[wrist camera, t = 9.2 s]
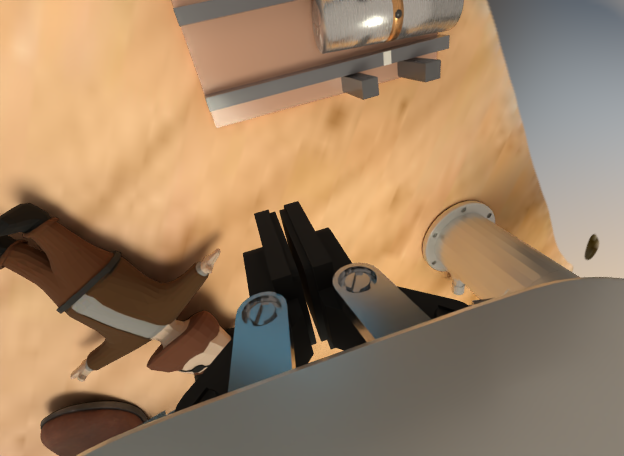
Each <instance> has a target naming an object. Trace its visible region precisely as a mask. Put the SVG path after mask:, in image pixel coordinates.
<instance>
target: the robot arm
mask: <svg viewBox="0 0 624 456" xmlns="http://www.w3.org/2000/svg"><path fill="white" fill-rule="evenodd" d="M279 211H280V215H281V219H282V223H283V227H284V231H285V235H286V238H287V241H286V238H285V236H284V233H283V231H282V228H281V226H280V223H279V220H278V218H277V215H276V213H275V212H272V213H269V210H265V211H262V212H258V213H255V214H254V215H255V219H256V223H257V227H258V231H259V234H260V238H261V242H262V246H263V247H261V248H258V249H255V250H251V251H248V252H245V253H243V257H244V264H245V270H246V276H247V283H248V289H249V295H250V297H249V298H248V299H246V300H245V301H244V302H243V303H242V304H241V305H240V307H239V308H238V310H237V314H236V320H235V329H234V337H233V338H232V339H231V340H230V341H229V342H228V344H227V345H226V346H225V347H224V348H223V350H222V351H221V352H220V353H219V354H218V355H217V357H216V358H215V359H214V360H213V361H212V363H211V364H210V365H209V366H208V367H207V368H206V370H205V371H204V372H203V373H202V374H201V376H200V377H199V378H198V379H197V380H196V381H195V383H194V384H193V385H192V386H191V387H190V389H189V390H188V391H187V392H186V393H185V394H184V396H183V397H182V399H181V400H180V402H179V403H178V404H177V407H176V409H175V410H174V411H172V412H170V413H169V414H168V413H167V412H166V411H163V412H161V413H160V414H158V415H156V416H154V417H153V418H151V419H149V420H147V421H146V422H144V423H142V424H140V425H139V426H137V427H135V428H133V429H131V430H129V431H126V432H124V433H122V434H119V435H117V436H114V437H112V438H110V439H108V440H106V441H104V442H102V443H100V444H98V445H96V446H94V447H91V448H89V449H87V450H85V451H84V452H82V453H80V454H78V455H77V456H624V279H622V278H611V277H610V278H609V277H584V278H580V277H579V276H577V275H576V274H574V273H572V272H571V271H569V270H567V269H566V268H564V267H563V266H561V265H559V264H558V263H556V262H555V261H553V260H552V259H550V258H548V257H547V256H545V255H544V254H542V253H541V252H539V251H537V250H536V249H534V248H533V247H531V246H529V245H528V244H526V243H525V242H523V241H522V240H520V239H518V238H517V237H515V236H514V235H512V234H511V233H509V232H507V231H506V230H504V229H503V228H501V227H499V226H498V225H496V224H495V216H494V214H493V211H492V210H491V209H490V208H489V207H488V206H486V205H485V204H483V203H481V202H478V201H465V202H461V203H458V204H456V205H454V206H452V207H450V208H449V209H447V210H446V211H444V212H443V213H442V214H441V215H440V216H439V217H438V218H437V219H436V220H435V221H434V222H433V223H432V225H431V226H430V228H429V229H428V231H427V233H426V235H425V238H424V242H423V248H422V251H423V256H424V259H425V261H426V262H427V263H428V264H429V265H430V266H431V267H432V268H433V269H435V270H438V271H448V272H449V273H450V274H451V278H452V280H453V282H452V292H453V293H454V294H456V295H461V294H463V293H464V286H465V285H466V286H467V287H468V288H469V289H470V290H471V291H472V292H473V293H474V294H475V295H476V296H477V297H478V298H479V299H481V300H475V301H472V305H469V306H468V305H467V304H465V303H463V302H460V301H457V300H454V299H450V298H445V297H441V296H437V295H432V294H428V293H424V292H419V291H415V290H411V289H406V288H402V287H398V286H396V285H395V284H393V283H392V282H391V281H390V280H389V279H388V278H387V277H386V276H385V275H384V274H383V273H382V272H381V271H380V270H379V269H377V268H376V267H374V266H372V265H370V264H367V263H352V262H351V261H350V259H349V258H348V256H347V255H346V253H345V252H344V250H343V249H342V247H341V245H340V244H339V242H338V241H337V239H336V238H335V236H334V235H333V233H332V232H331V230H330V229H329V228H325V229H321V230H318V231H315V230H314V228H313V227H312V225H311V223H310V221H309V219H308V218H307V216H306V214H305V212H304V211H303V209H302V207H301V205H300V203H299V202H298V201H297V202H293V203H290V204H286V205H284V209H283V210H279ZM287 242H288V244H287ZM306 302H307V303H306ZM307 305H308V307H309V310H310V313H311V315H312V318H313V321H314V323H315V326H316V329H317V331H318V334H319V337H320V339H321V341H325V340H327V341H328V343H329V346H330V348H331V349H333V348H338V349H341V350H344V351H342V352H339V353H336V354H333V355H330V356H328V357H325V358H322V359H319V360H317V361H314V362H311V363H308V362H309V361H310V359H311V357H312V356H313V354H314V353H313V349H312V346H311V345H313V344H316V339H315V335H314V331H313V327H312V323H311V319H310V315H309V311H308V307H307Z"/></svg>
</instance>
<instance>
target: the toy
mask: <svg viewBox="0 0 624 456" xmlns="http://www.w3.org/2000/svg"><path fill="white" fill-rule="evenodd" d="M58 220H59V219H58V218H55V217H53V218H51V217H50V215H49V214H48V213H47V212H45V211H43V210H42V209H40V208H39V207H37V206H35V205H33V204H31V203H26V204H20V205H18V206H16V207H14V208H12V209H10V210H9V211H7V212H6V213H4V214H3V215H1V216H0V269H2V268H4V267H6V268H8V269H10V270H12V271H14V272H15V273H17V274H19V275H21V276H23V277H25V278H26V279H28V280H30V281H32V282H33V283H35V284H36V285H38V286H39V287H40V288H41V289H42V290H43V291H44V292H45V293H46V294H47V295H48V296H49V297H50V298H51V299H52V300H53V301H54V303H55V304H56V305H57V306H58V307H59V308H58V309H57V311H58V312H59V313H63V312H64V311H65V312H66V313H67V314H68V315H69V316H70V317H72V318H74V319H75V320H77V321H79V322H81V323H83V324H85V325H87V326H89V327H90V328H92V329H94V330H96V331H98V332H99V333H100V334H101V335H103V336H104V337H105V338H106V339H105V341H104V342H103V343H102V344H101V345H100V346H99V347H97V348H96V349H95V350H93V351H92V352H91V353H90V354H89V355H88V357H87V359H85V360H84V361H83V362H82V363H81V365H80V366H79V367H78V368H77V369H76V370H74V371H73V373H72V374H71V379H74V378H77V379H78V380H79V381H82V382H83V381H85V379H86V377H87V375H88V374H89V373H90V372H91V371H93V370H99V369H100V368H102V367H104V366H106V365H108V364H110V363H112V362H113V361H115V360H117V359H119V358H121V357H123V356H125V355H126V354H128V353H130V352H132V351H134V350H135V349H137V348H139V347H141V346H142V345H144V344H146V343H148V342H149V341H151V340H152V339H153V340H158V341H160V342H161V345H160V346H159V347H158V349H157V350H156V351H155V352H154V354H153V355H152V356H151V358H150V360H149V361H148V364H147V367H148V368H150V369H151V370H157V371H163V372H173V371H179V372H183V373H190V374H194V375H195V377H194V378H195V381H196V380H197V379H198V378H199V377H200V376H201V374H202V373H203V372H204V371H205V370H206V368H207V367H208V366H209V365H210V364H211V363H212V361H213V360H214V359H215V358H216V357H217V355H218V354H219V353H220V352H221V351H222V350H223V348H224V347H225V346H226V345H227V344H228V342H229V341H230V340H231V339H232V338H233V337H234V329H235V327H234V328H230V329H227V330H225V331H224V330H223V329H222V328H221V327H220V326H219V324H218V321H217V320H216V318H215V317H214V316H213V315H212V314H211V313H209V312H207V311H201V312H198V313H196V314H195V315H193V316H192V317H190V318H189V319H188V320H186V321H183V322H182V321H178V320H176V318H177V317H178V316H179V314H180V313H181V312H182V310H183V309H184V308H185V306H186V305H187V304H188V303H189V301H190V300H191V299H192V297H193V296H194V295H195V294H196V292H197V291H198V290H199V288H200V287H201V286H202V284H203V283H204V282H205V280H206V279H207V278H208V275H209V274H210V273H212V269H213V265H214V263H215V262H216V260H217V258H218V256H219V254H220V249H216V250H215V251H214V252H213V253H211V254H210V255H207V256H205V258H204V259H203V261H202V262H197V263H195V264H194V265H193V266H192V267H191V268H190V269H189V270H188V271H187V272H186V273H184V274H183V275H181V276H180V277H178V278H177V279H175V280H174V281H171V282H169V283H160V282H157V281H155V280H152V279H150V278H149V277H147V276H146V275H144V274H143V273H141V272H140V271H139V270H138V269H136V268H135V267H134V266H133V265H132V264H131V263H129V262H128V261H127V260H126V259H125V258H123V257H121V253H120V252H118V251H114V252H113V253H111V252H109V251H106V250H103V249H101V248H98V247H96V246H94V245H92V244H90V243H89V242H87V241H85V240H83V239H82V238H80V237H79V236H77V235H76V234H74V233H73V232H71V231H70V230H68V229H67V228H65V227H64V226H62V225H61V224H59V223H58V222H56V221H58ZM17 232H22V233H23V237H25V238H32V239H33V240H34V241H35V242H36V243H37V244H38V245H39V246H40V247H41V248H42V250H43V251H44V252H43V251H40V250H38V249H36V248H34V247H31V246H29V245H28V242H27V241H26V240H15V239H13V238H12V237H10V236H8V235H10V234H14V233H17Z"/></svg>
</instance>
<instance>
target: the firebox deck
mask: <svg viewBox="0 0 624 456" xmlns="http://www.w3.org/2000/svg"><path fill="white" fill-rule="evenodd" d="M171 1H172V4H173V7H174V8H173V9H174V12H175V15H176V18H177V20H178V23H179V26H180V27H181V29H182V32H183V35H184V38H185V41H186V43H187V46H188V49H189V52H190V55H191V58H192V60H193V63H194V66H195V69H196V72H197V75H198V77H199V80H200V83H201V86H202V89H203V91H204V94H205V99H206V102H207V105H208V108H209V110H210V112H211V114H212V117H213V120H214V122H215V125H216V128H219V127H222V126H226V125H230V124H233V123H237V122H241V121H244V120H248V119H252V118H255V117H259V116H263V115H266V114H270V113H273V112H277V111H281V110H284V109H288V108H292V107H295V106H299V105H303V104H306V103H310V102H314V101H317V100H321V99H325V98H328V97H332V96H335V95H339V94H343V93H348V94H350V95H353V96H355V97H358V98H361V99H363V100H364V99H367V98H371V97H374V96H378V95H379V88H378V84H379V83H383V82H387V81H390V80H394V79H397V78H401V77H403V78H408V79H413V80H417V81H422V82H428V81H431V80H435V79H439V78H440V66H441V60H437V51H441V50H444V49H448V48H449V35H437V33H431V34H426V35H421V36H415V37H410V38H405V39H399V40H394V41H390V42H385V43H378V44H373V45H367V46H362V47H357V48H351V49H346V50H341V51H335V52H330V53H325V54H322V53H321V52H320V51H319V49H318V47H317V45H316V41H315V38H314V33H313V26H312V5H313V0H171Z"/></svg>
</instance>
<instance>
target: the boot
mask: <svg viewBox="0 0 624 456" xmlns="http://www.w3.org/2000/svg"><path fill="white" fill-rule="evenodd" d="M147 420H148V419H147V417H146V415H145V414H144V413H143V412H142V411H141V410H140V409H139V408H137V407H135V406H133V405H130V404H126V403H122V402H113V401H101V402H91V403H83V404H78V405H73V406H69V407H66V408H63V409H61V410H58V411H56V412H54V413H52V414H50V415H48V416H47V417H45V418H44V419H43V420H42V421H41V441H42V443H43V444H44V445H45V446H46V447H47V448H48V449H50V450H51V451H53V452H54V453H56V454H57V455H59V456H77V455H78V454H80V453H82V452H84V451H85V450H87V449H89V448H91V447H94V446H96V445H98V444H100V443H102V442H104V441H106V440H108V439H110V438H112V437H114V436H117V435H119V434H122V433H124V432H126V431H129V430H131V429H133V428H135V427H137V426H139V425H140V424H142V423H144V422H146V421H147Z"/></svg>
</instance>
